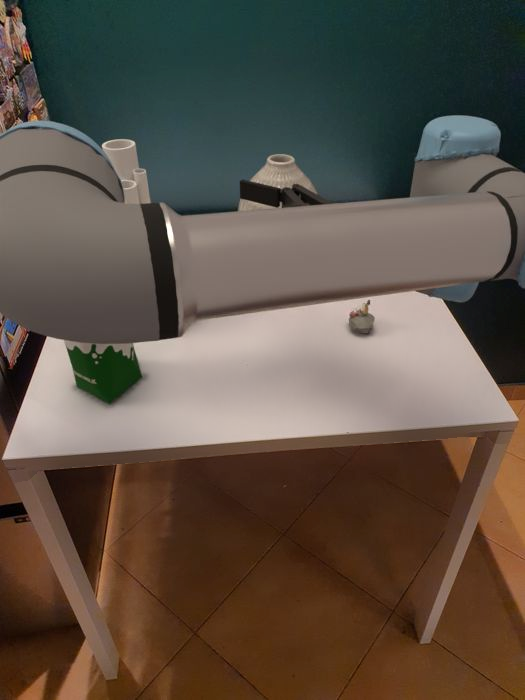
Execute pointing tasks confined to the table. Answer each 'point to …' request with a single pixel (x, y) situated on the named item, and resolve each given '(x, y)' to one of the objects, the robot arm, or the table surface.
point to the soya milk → (104, 368)
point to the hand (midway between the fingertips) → (214, 205)
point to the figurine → (362, 319)
